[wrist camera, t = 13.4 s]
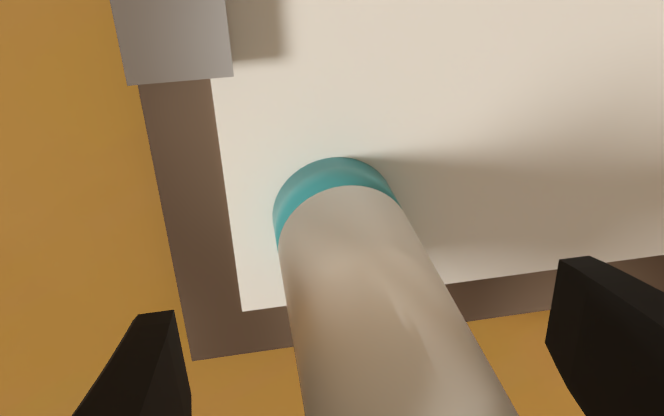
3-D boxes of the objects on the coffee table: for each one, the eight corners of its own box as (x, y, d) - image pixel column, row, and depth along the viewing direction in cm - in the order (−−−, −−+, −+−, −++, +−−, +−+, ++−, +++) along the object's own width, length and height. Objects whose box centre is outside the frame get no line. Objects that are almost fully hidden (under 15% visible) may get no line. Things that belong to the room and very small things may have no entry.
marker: (394, 151, 14) (608, 477, 7) (393, 257, 16) (566, 628, 8) (267, 163, 14) (333, 526, 6) (277, 272, 15) (341, 677, 8)
